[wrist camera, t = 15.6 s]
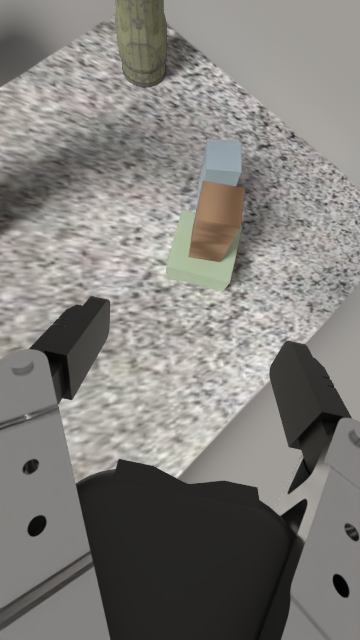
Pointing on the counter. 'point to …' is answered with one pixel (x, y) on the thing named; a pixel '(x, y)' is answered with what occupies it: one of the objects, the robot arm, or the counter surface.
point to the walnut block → (216, 220)
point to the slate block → (221, 163)
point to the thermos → (142, 40)
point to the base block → (199, 269)
